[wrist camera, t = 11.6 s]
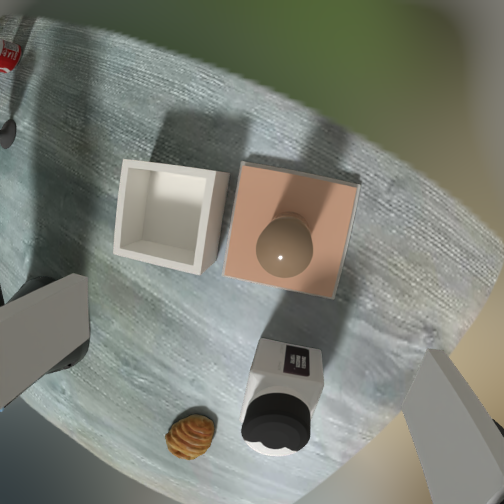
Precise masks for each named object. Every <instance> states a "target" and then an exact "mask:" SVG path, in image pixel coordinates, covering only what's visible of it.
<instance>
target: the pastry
mask: <svg viewBox="0 0 504 504" xmlns="http://www.w3.org/2000/svg"><path fill="white" fill-rule="evenodd" d="M213 434H214V423H213V421H212V420H210V419H208V418H207V417H205V416H202V415H198V414H194V415H190V416H189V417H186V418H184V419H181V420H179V421H178V422H177V423H175V424H173V425H172V428H171V429H170V431H169V432H168V433H167V434H166V435H165V439H166V444H167V446H168V450H169V451H170V452H171V453H172V454H173V455H175V456H176V457H178V458H181V459H186V460H192V459H195V458H197V457H198V456H200V455H202V454H204V453H205V452H206V451H207V449H208V448H209V447H210V445H211V442H212V437H213Z"/></svg>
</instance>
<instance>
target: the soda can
mask: <svg viewBox="0 0 504 504" xmlns="http://www.w3.org/2000/svg"><path fill="white" fill-rule="evenodd" d="M21 54H22V51H21V47H20V46H19V45H17V44H14V43H11V42H8V41H5V40H2V39H0V72H3V73H9V72H10V71H12V70H13V69H14V68H15V67H16V66H17V64H18V62H19V60H20V58H21Z"/></svg>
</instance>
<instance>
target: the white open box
mask: <svg viewBox="0 0 504 504" xmlns="http://www.w3.org/2000/svg"><path fill="white" fill-rule="evenodd" d="M229 179H230V173H227V172H220V171H214V170H207V169H201V168H194V167H187V166H179V165H172V164H164V163H156V162H147V161H137V160H127V159H123V164H122V171H121V178H120V186H119V194H118V203H117V213H116V224H115V236H114V251H113V254H115V255H119V256H123V257H127V258H131V259H135V260H139V261H143V262H147V263H151V264H155V265H159V266H163V267H167V268H172V269H176V270H180V271H184V272H188V273H193V274H197V275H201V274H202V273H203V272H204V271H205V270H207V269H208V268H209V267H210V266H211V265H212V264H213V263H214V262H215V261H216V258H217V252H218V245H219V239H220V233H221V226H222V220H223V214H224V208H225V202H226V196H227V190H228V184H229Z"/></svg>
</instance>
